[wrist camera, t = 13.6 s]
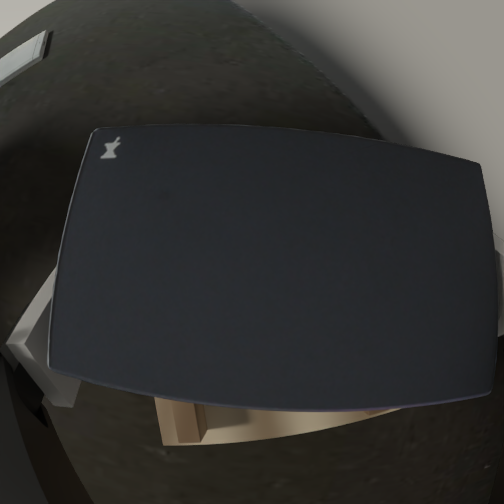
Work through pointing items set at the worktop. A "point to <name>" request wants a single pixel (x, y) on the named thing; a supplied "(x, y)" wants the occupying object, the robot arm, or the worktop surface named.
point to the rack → (242, 422)
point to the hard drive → (22, 57)
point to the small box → (275, 270)
